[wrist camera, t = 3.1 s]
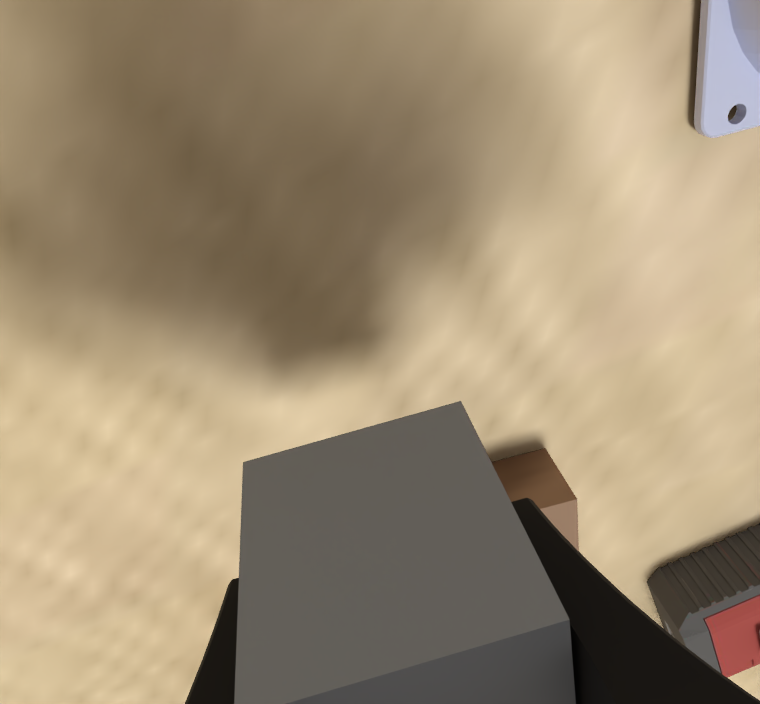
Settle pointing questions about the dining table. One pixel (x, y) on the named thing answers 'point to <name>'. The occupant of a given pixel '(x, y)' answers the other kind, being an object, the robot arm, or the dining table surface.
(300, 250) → the dining table surface
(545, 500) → the walnut block
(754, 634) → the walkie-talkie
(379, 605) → the slate cube
